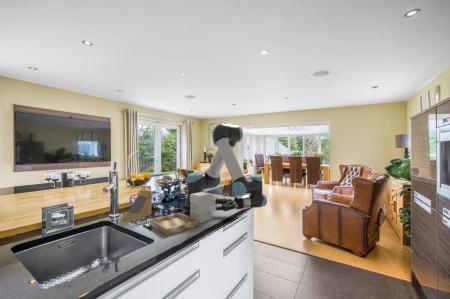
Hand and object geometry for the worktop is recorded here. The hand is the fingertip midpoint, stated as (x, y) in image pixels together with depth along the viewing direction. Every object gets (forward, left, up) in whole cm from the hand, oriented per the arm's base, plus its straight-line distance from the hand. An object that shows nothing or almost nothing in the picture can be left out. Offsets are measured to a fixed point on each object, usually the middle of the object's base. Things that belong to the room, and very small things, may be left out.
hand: (207, 205), depth 120 cm
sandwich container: (+28, -34, -8) cm, 45 cm away
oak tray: (+19, -4, -8) cm, 21 cm away
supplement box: (+3, -2, -8) cm, 9 cm away
